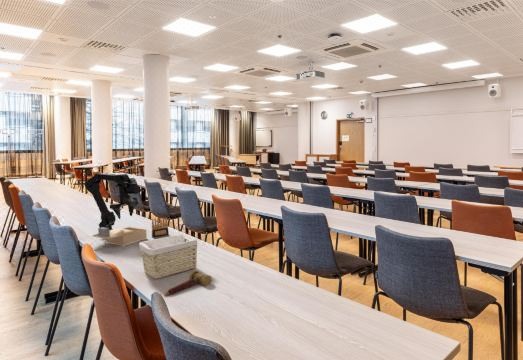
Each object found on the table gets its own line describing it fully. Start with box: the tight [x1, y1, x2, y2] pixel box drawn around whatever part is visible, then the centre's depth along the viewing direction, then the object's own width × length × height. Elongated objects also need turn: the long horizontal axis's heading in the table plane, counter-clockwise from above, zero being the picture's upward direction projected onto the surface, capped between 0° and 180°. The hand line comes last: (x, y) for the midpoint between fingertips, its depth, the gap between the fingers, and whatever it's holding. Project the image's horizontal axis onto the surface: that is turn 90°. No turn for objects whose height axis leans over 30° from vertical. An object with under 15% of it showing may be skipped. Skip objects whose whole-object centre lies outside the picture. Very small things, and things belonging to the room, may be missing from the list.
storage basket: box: [138, 233, 198, 280], centre depth 181 cm, size 24×16×15 cm
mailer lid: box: [92, 227, 135, 240], centre depth 228 cm, size 16×18×5 cm
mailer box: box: [105, 226, 148, 247], centre depth 236 cm, size 16×18×6 cm
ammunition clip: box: [151, 217, 170, 239], centre depth 245 cm, size 11×2×12 cm, turn 122°
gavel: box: [163, 270, 213, 297], centre depth 159 cm, size 21×5×10 cm
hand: (125, 217), depth 244 cm, fingers open, 9 cm apart
